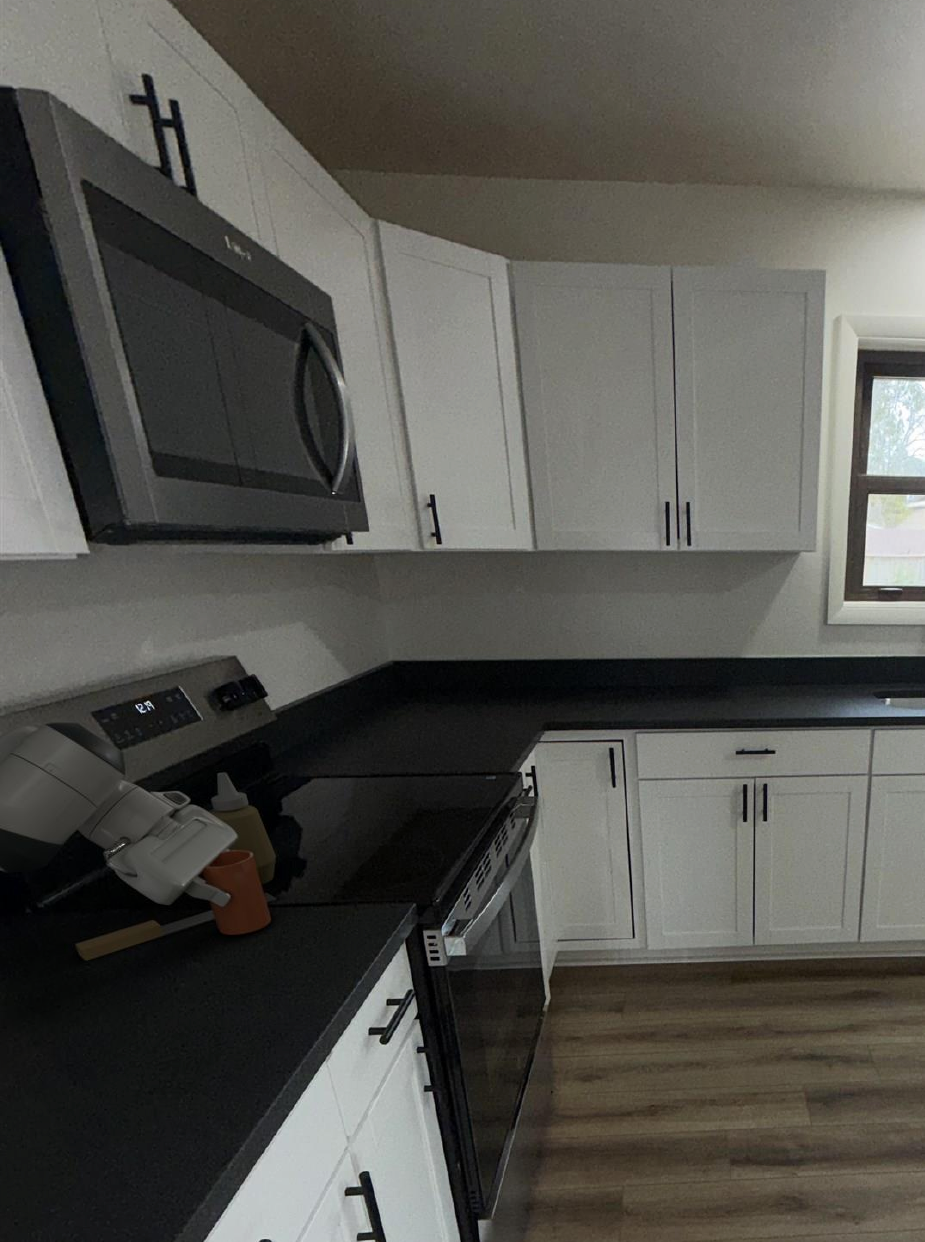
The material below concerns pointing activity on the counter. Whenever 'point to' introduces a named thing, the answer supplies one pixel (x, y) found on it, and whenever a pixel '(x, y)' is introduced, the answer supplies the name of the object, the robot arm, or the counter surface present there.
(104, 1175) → the counter surface
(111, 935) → the knife
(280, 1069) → the counter surface
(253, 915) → the cup
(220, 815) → the squeeze bottle
